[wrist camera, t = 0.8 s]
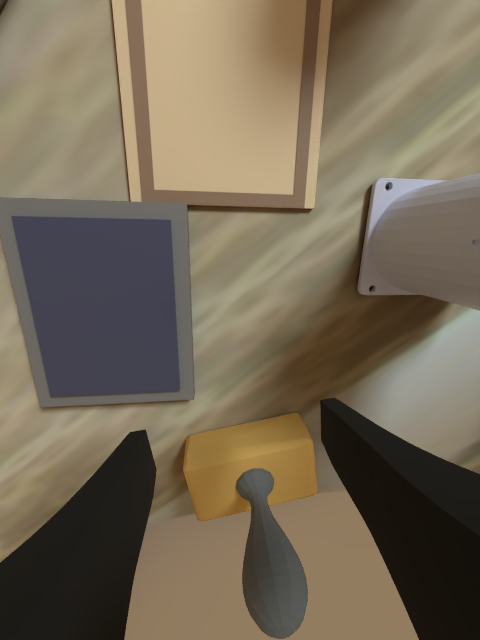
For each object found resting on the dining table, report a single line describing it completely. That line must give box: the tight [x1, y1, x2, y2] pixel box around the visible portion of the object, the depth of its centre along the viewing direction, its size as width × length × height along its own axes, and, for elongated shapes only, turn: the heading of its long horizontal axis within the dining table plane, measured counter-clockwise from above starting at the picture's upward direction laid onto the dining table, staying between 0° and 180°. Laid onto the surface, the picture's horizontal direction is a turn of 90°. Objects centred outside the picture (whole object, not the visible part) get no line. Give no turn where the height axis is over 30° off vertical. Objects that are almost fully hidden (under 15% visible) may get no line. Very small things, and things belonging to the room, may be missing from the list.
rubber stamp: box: [183, 413, 318, 639], centre depth 18 cm, size 10×6×12 cm, turn 99°
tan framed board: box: [112, 0, 333, 209], centre depth 16 cm, size 12×14×1 cm
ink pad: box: [0, 197, 195, 407], centre depth 18 cm, size 11×14×1 cm
